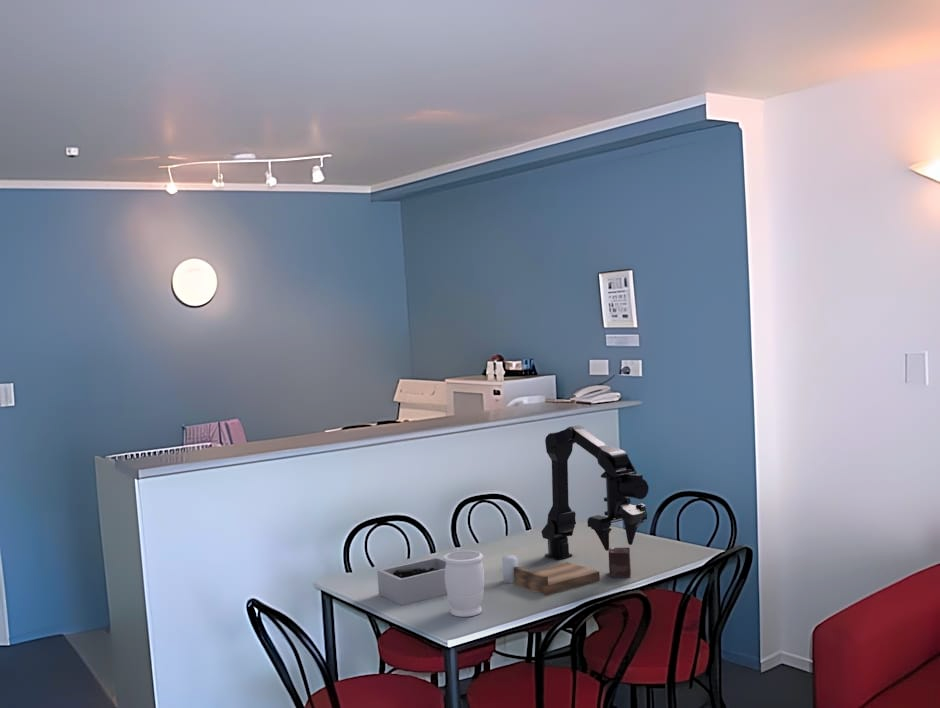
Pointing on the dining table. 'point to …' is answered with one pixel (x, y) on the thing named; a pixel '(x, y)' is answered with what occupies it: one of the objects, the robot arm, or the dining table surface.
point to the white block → (509, 568)
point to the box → (619, 562)
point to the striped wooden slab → (554, 577)
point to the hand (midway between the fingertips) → (618, 547)
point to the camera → (412, 572)
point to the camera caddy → (413, 582)
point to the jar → (464, 582)
